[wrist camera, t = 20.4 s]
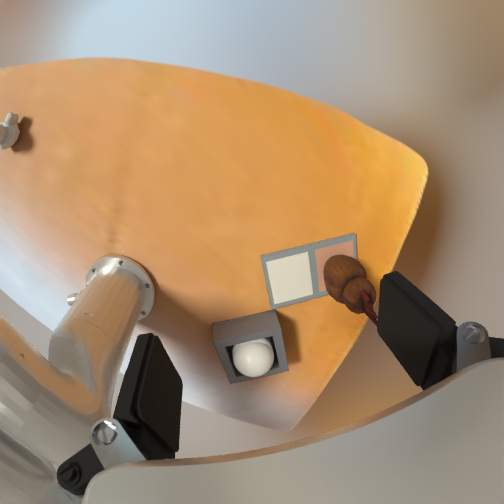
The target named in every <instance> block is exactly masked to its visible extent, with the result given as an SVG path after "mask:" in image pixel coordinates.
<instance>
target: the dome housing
mask: <svg viewBox="0 0 504 504" xmlns="http://www.w3.org/2000/svg"><path fill="white" fill-rule="evenodd" d="M266 337H269V338H270V342H271V345H272V349H273V353H274V361H273V364H272V367H271V368H270V369H269V371H268V372H266V373H265V374H263V375H261V376H257V377H249V376H246V375H244V374H242V373H241V372H239V371H238V370H237V368H236V367H235V365H234V362H233V355H232V345H236V344H240V343H245V342H249V341H253V340H258V339H262V338H266ZM213 343H214V346H215V348H216V351H217V353H218V356H219V358H220V360H221V363H222V365H223V368H224V370H225V372H226V375H227V377H228V379H229V382H230V384H232V383H237V382H242V381H247V380H252V379H256V378H261V377H265V376H269V375H273V374H278V373H281V372H285V371H289V368H288V363H287V358H286V352H285V347H284V342H283V336H282V331H281V326H280V323H279V320H278V318H277V315H276V312H275V309H274V310H270V311H266V312H262V313H258V314H254V315H249V316H245V317H241V318H236V319H232V320H228V321H223V322H218V323H214V324H213Z"/></svg>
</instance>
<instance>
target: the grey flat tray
mask: <svg viewBox="0 0 504 504" xmlns="http://www.w3.org/2000/svg"><path fill="white" fill-rule="evenodd" d="M334 255H346V256H350V257H352V258H354V259H356V260H357V251H356V234H355V233H351V234H347V235H343V236H339V237H335V238H331V239H327V240H323V241H319V242H315V243H310V244H306V245H302V246H298V247H294V248H290V249H286V250H282V251H278V252H273V253H269V254H265V255H261V261H262V266H263V270H264V275H265V280H266V285H267V289H268V294H269V299H270V304H271V308H272V310H273V309H276V308H280V307H284V306H288V305H292V304H296V303H299V302H303V301H307V300H310V299H314V298H317V297H321V296H325V295H328V294H329V293H328V292H327V290H326V287H325V282H324V274H323V270H324V266H325V263H326V261H327V260H328V259H329V258H330V257H332V256H334Z"/></svg>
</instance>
